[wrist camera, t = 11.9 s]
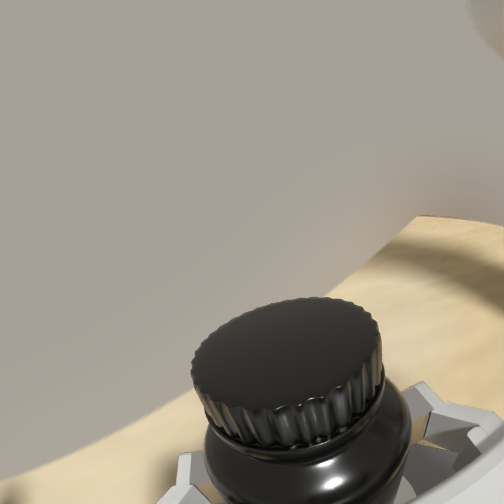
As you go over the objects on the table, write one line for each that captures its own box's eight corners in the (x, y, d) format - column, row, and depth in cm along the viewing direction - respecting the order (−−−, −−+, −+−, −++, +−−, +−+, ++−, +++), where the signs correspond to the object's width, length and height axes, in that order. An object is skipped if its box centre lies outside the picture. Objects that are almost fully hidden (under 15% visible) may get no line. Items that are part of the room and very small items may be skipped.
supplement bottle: (405, 538, 6) (488, 380, 3) (263, 569, 6) (106, 465, 4) (373, 448, 13) (362, 262, 10) (261, 475, 13) (180, 310, 10)
